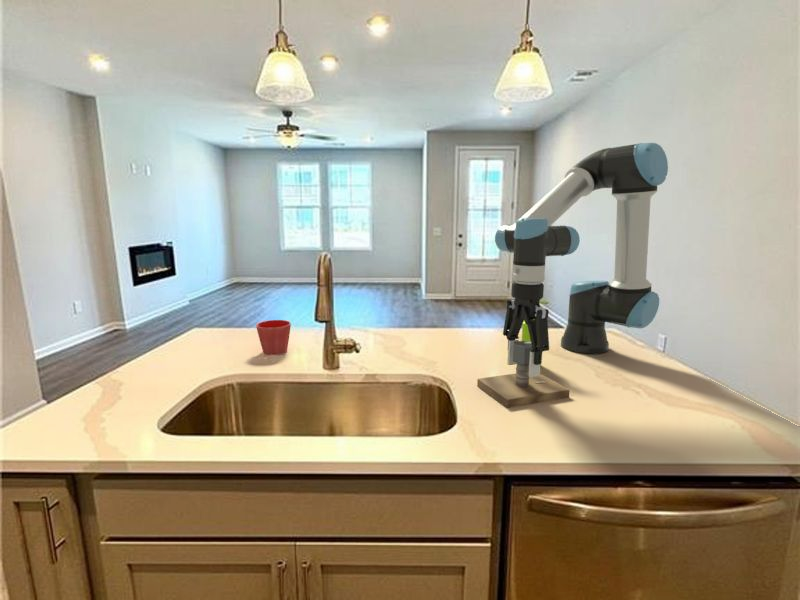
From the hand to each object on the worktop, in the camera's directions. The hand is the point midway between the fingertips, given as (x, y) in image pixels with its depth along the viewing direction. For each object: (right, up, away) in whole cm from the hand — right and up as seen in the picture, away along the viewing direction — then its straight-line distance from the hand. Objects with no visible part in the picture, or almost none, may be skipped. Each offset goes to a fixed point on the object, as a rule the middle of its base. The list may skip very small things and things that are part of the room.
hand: (522, 369), depth 108 cm
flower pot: (-73, 0, +34) cm, 81 cm away
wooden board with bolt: (0, -6, +1) cm, 6 cm away
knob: (0, +2, 0) cm, 2 cm away
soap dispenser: (+9, -2, +21) cm, 23 cm away
